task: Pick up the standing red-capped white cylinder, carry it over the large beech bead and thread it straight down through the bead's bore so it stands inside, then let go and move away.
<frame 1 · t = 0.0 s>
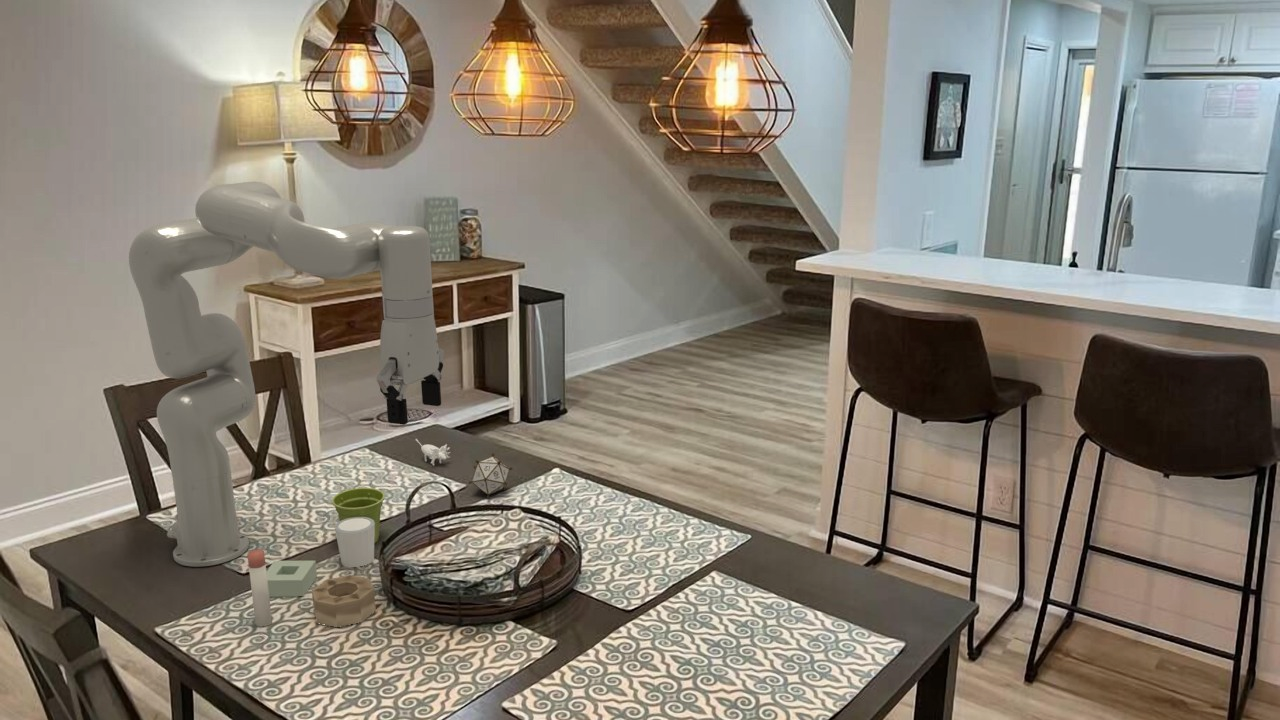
hand: (415, 413, 152), 31 cm above the table, tool pointing down, fingers open, 9 cm apart
white triceratops figurine: (430, 462, 219), on the table
plant pot: (362, 541, 179), on the table
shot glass: (357, 561, 172), on the table
bead: (345, 612, 154), on the table
game die: (491, 494, 201), on the table
green square-hole block: (289, 586, 162), on the table
red-capped white cylinder: (263, 622, 151), on the table
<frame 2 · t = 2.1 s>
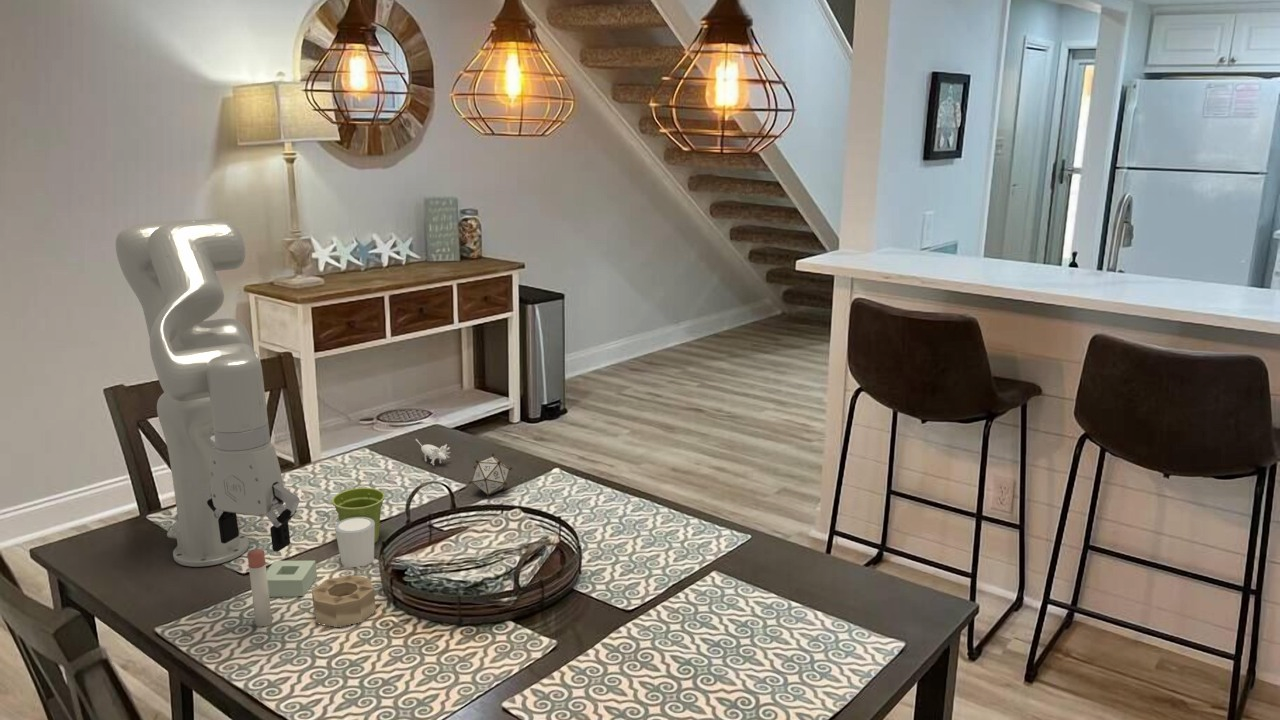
hand: (255, 543, 147), 14 cm above the table, tool pointing down, fingers open, 9 cm apart
nothing on the table moved.
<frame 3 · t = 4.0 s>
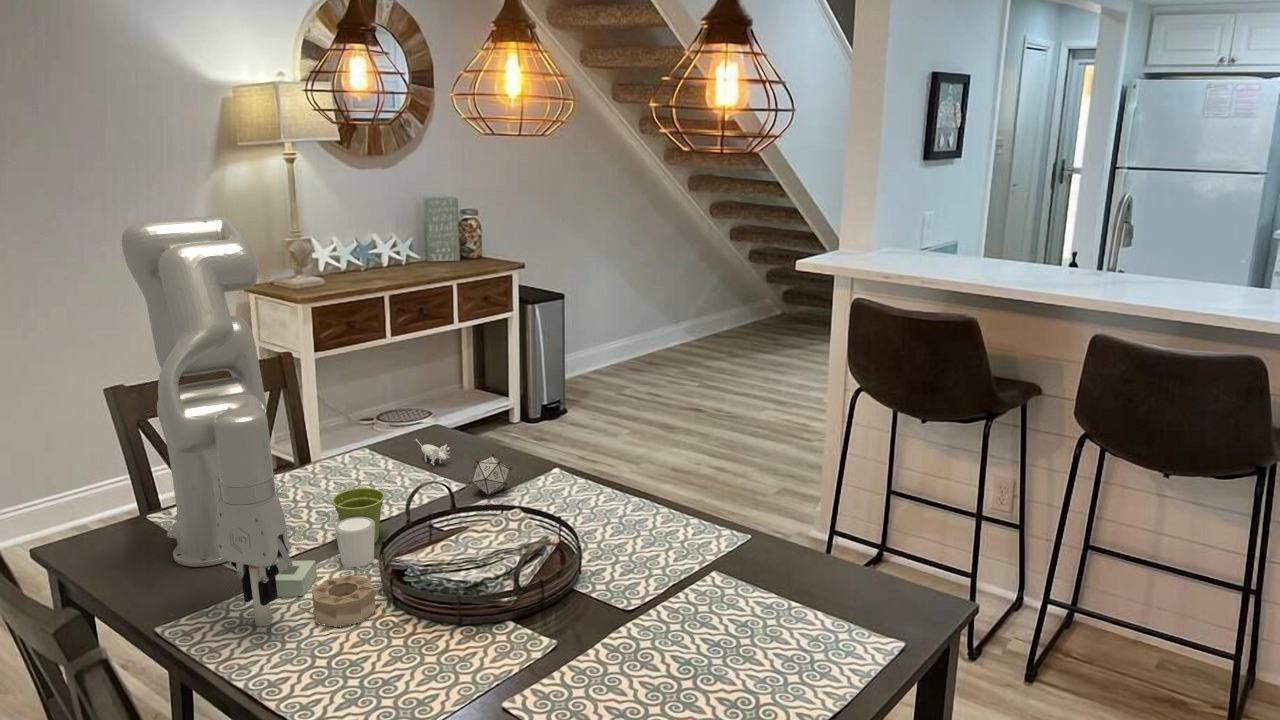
hand: (261, 598, 150), 4 cm above the table, tool pointing down, fingers closed on red-capped white cylinder, 2 cm apart
red-capped white cylinder: (263, 622, 151), on the table, touching gripper
everything else where it was.
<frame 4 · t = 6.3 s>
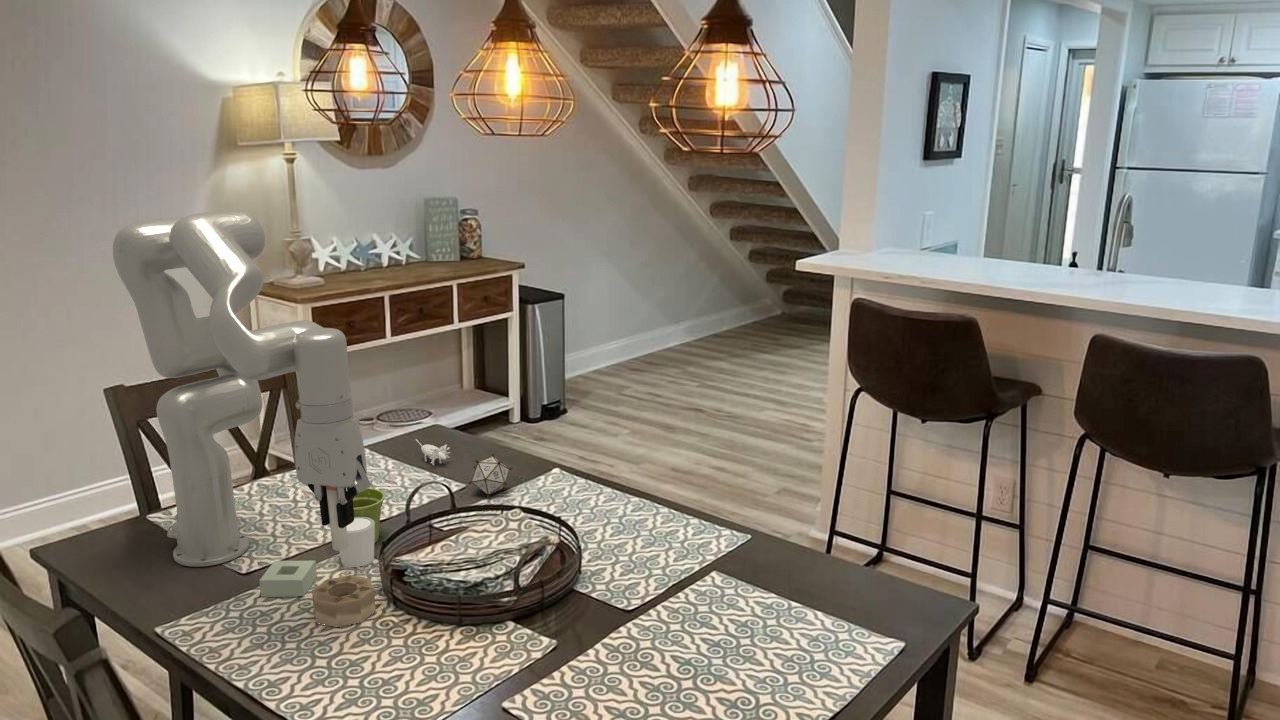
hand: (338, 522, 150), 16 cm above the table, tool pointing down, fingers closed on red-capped white cylinder
red-capped white cylinder: (340, 547, 151), point 11 cm above the table, touching gripper
everything else where it was.
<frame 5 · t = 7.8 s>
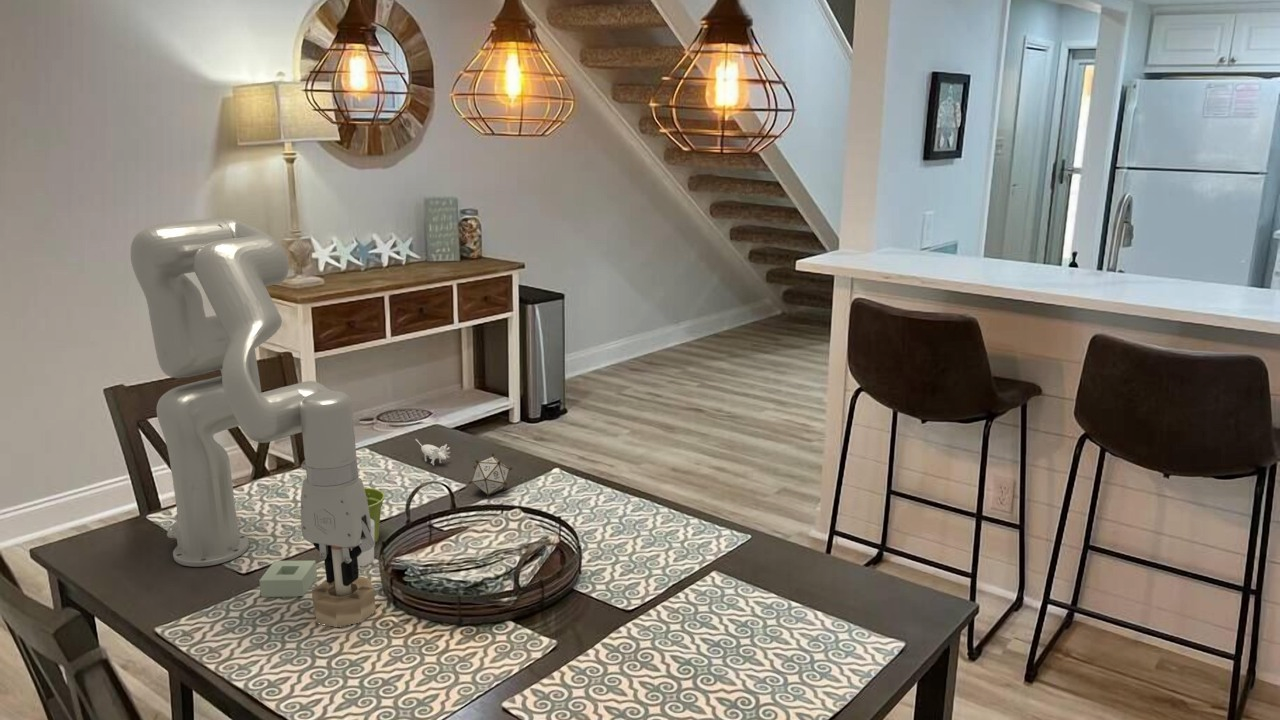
hand: (342, 579, 152), 6 cm above the table, tool pointing down, fingers closed on red-capped white cylinder, 2 cm apart
red-capped white cylinder: (344, 603, 153), point 2 cm above the table, touching gripper
everything else where it was.
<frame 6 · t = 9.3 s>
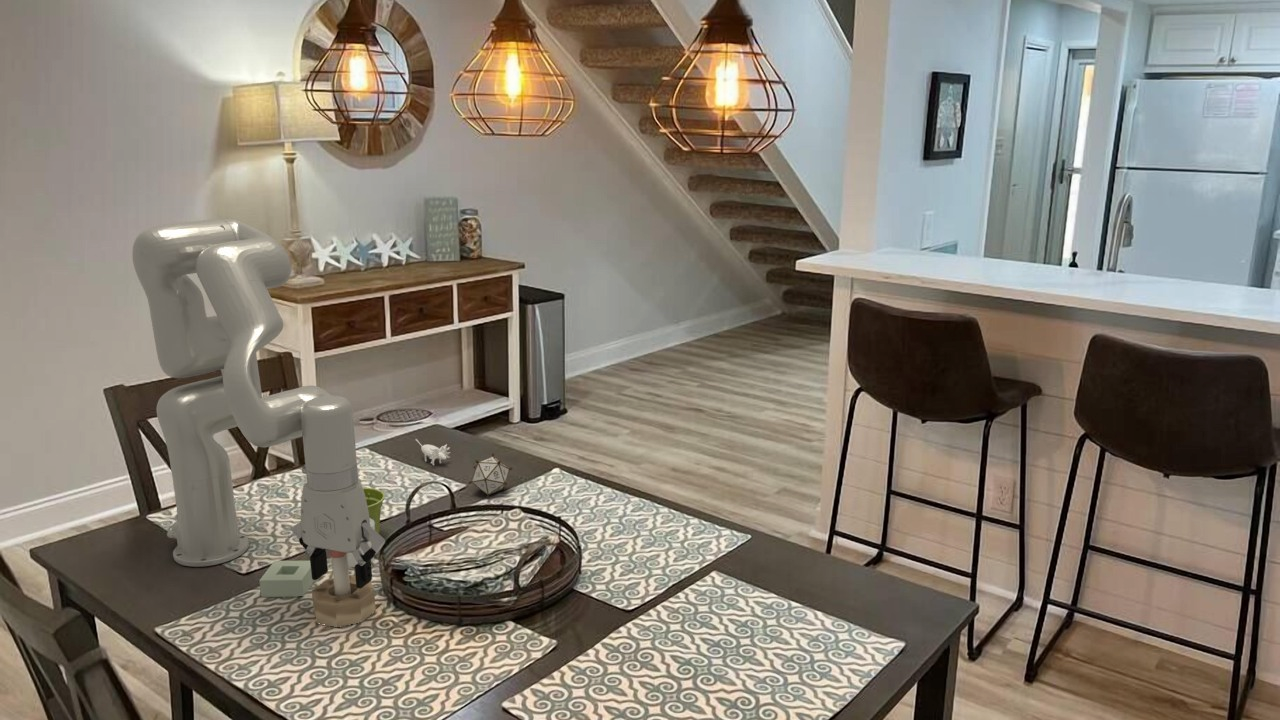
hand: (342, 579, 153), 6 cm above the table, tool pointing down, fingers open, 7 cm apart
red-capped white cylinder: (345, 612, 154), resting in bead
everything else where it was.
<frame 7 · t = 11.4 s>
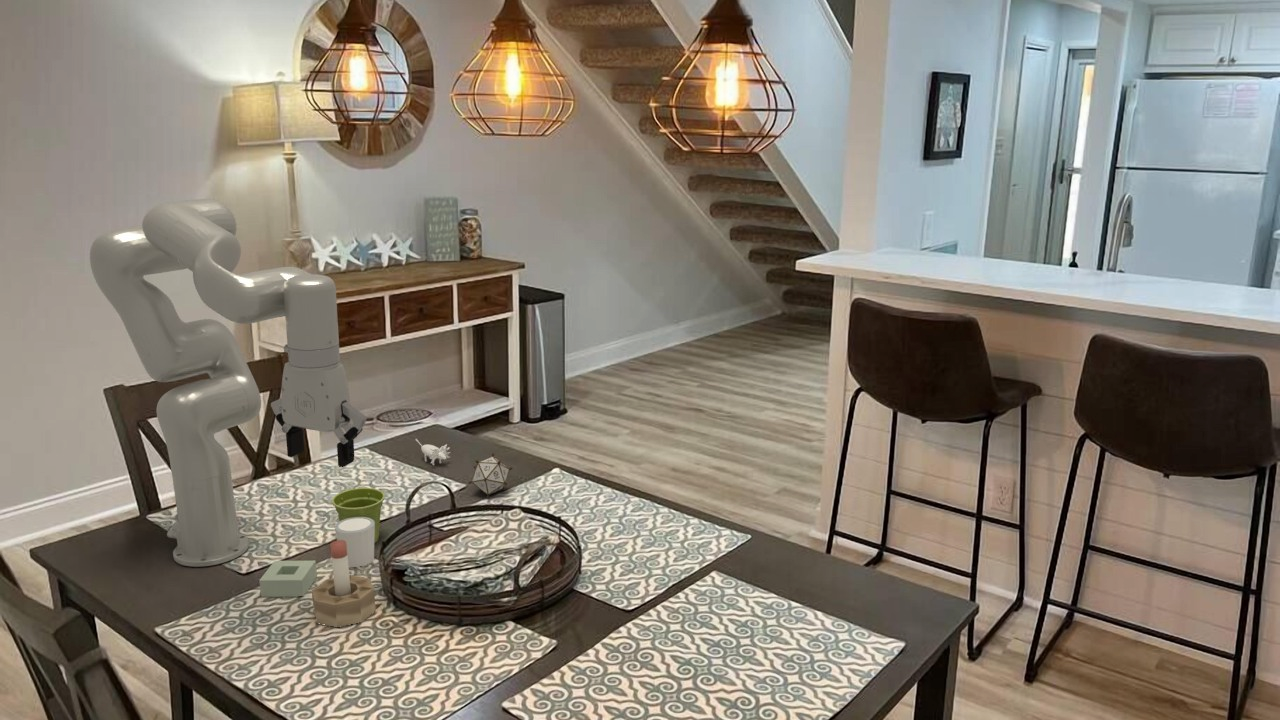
hand: (320, 459, 153), 24 cm above the table, tool pointing down, fingers open, 9 cm apart
nothing on the table moved.
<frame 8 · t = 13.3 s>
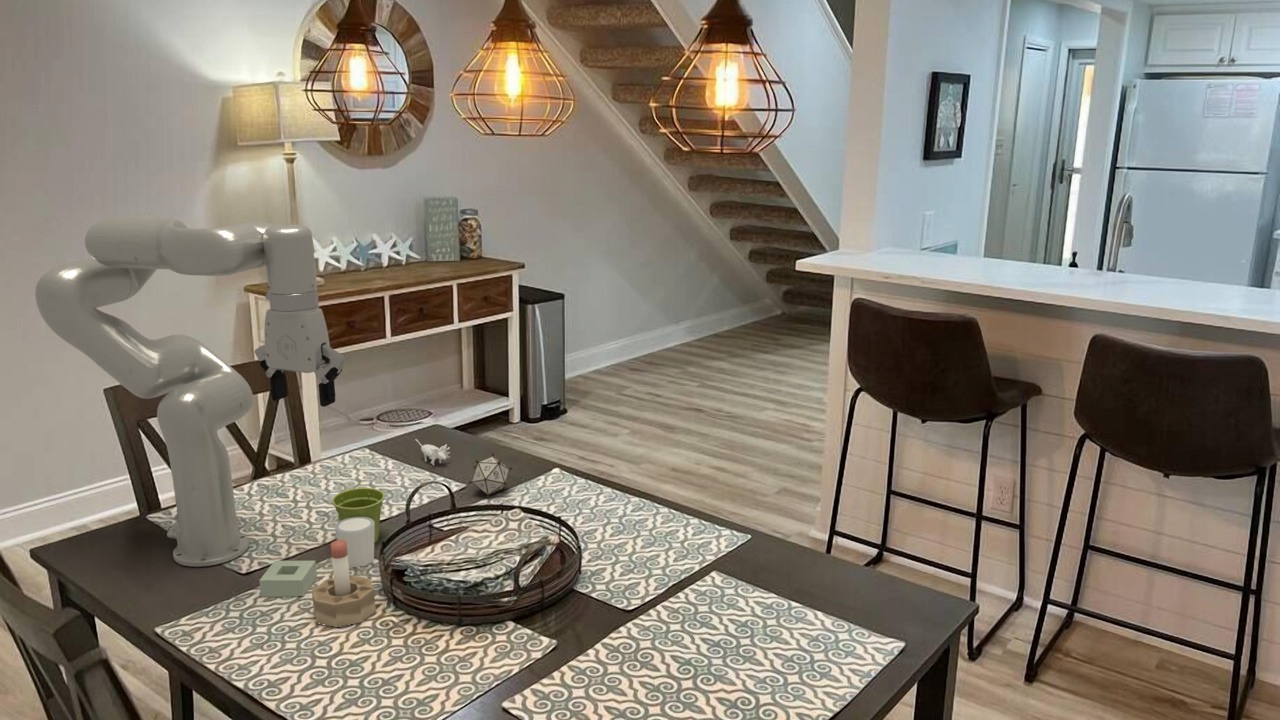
hand: (303, 401, 162), 30 cm above the table, tool pointing down, fingers open, 9 cm apart
nothing on the table moved.
at the end: red-capped white cylinder 0.1 cm off-centre on the bead, point 0.0 cm above the bead's base; red-capped white cylinder tilted 0°; the gripper is holding nothing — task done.
